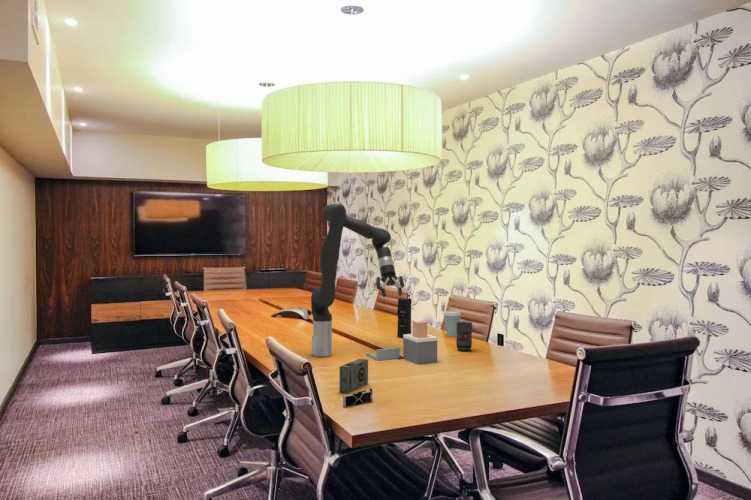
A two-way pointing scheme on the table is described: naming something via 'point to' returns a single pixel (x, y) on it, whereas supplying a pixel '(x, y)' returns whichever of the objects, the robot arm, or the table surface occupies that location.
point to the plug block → (419, 329)
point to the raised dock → (420, 349)
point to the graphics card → (357, 398)
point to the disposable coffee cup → (451, 321)
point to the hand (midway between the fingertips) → (392, 296)
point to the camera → (353, 375)
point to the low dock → (385, 354)
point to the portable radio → (404, 316)
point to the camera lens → (464, 336)
